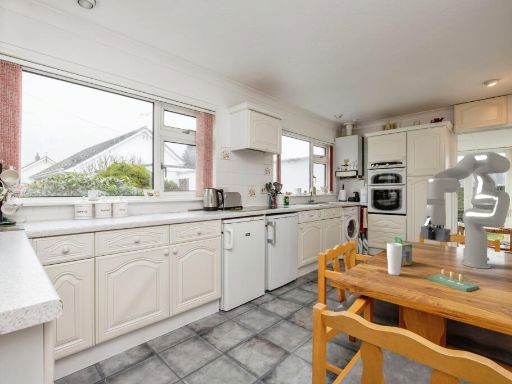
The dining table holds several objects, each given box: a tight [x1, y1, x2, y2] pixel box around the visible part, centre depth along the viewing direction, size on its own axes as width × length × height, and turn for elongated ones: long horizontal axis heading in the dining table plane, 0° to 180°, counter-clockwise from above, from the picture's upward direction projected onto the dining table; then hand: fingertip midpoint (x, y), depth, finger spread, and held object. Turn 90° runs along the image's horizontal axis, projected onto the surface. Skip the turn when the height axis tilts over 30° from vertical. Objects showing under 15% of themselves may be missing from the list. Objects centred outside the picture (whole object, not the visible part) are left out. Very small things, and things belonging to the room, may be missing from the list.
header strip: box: [426, 268, 480, 292], centre depth 116 cm, size 9×16×5 cm, turn 23°
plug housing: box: [420, 225, 458, 243], centre depth 129 cm, size 5×16×6 cm, turn 23°
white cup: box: [386, 242, 402, 277], centre depth 129 cm, size 7×7×15 cm
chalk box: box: [386, 236, 413, 267], centre depth 147 cm, size 9×9×15 cm
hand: (435, 238), depth 131 cm, fingers closed on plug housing, 4 cm apart
